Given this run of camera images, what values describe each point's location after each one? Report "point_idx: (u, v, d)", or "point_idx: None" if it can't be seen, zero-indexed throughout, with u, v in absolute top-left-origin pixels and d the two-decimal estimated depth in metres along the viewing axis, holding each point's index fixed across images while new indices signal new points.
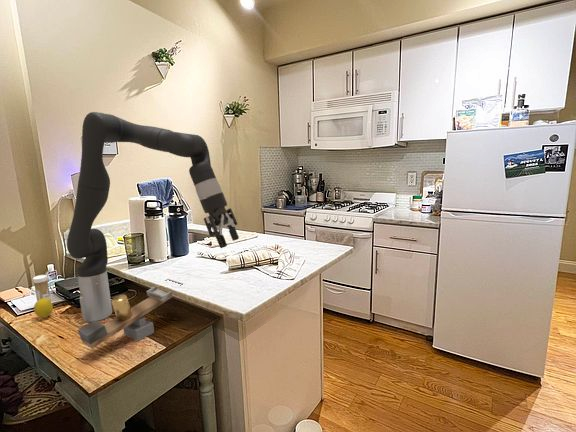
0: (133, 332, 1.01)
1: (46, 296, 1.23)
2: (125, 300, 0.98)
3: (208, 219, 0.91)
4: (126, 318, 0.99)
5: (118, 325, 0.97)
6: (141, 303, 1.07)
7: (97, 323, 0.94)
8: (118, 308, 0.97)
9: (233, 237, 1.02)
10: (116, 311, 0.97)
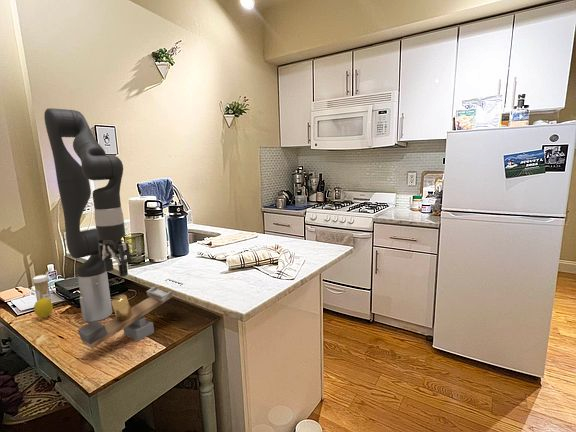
0: (133, 332, 1.01)
1: (46, 296, 1.23)
2: (125, 300, 0.98)
3: None
4: (126, 318, 0.99)
5: (118, 325, 0.97)
6: (141, 303, 1.07)
7: (97, 323, 0.94)
8: (118, 309, 0.97)
9: None
10: (116, 311, 0.97)
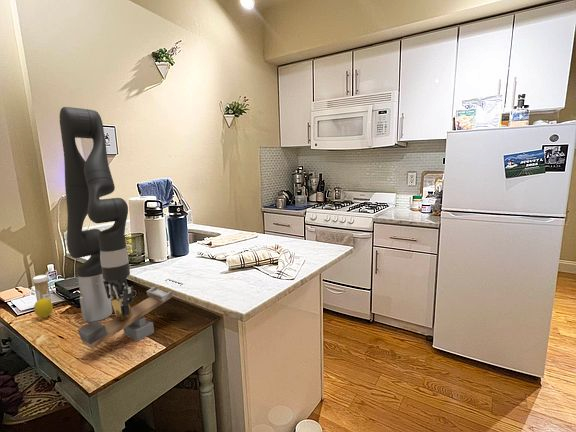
0: (133, 332, 1.01)
1: (46, 296, 1.23)
2: None
3: None
4: (126, 318, 0.99)
5: (118, 325, 0.97)
6: (141, 303, 1.07)
7: (97, 323, 0.94)
8: (118, 309, 0.97)
9: None
10: (116, 311, 0.97)
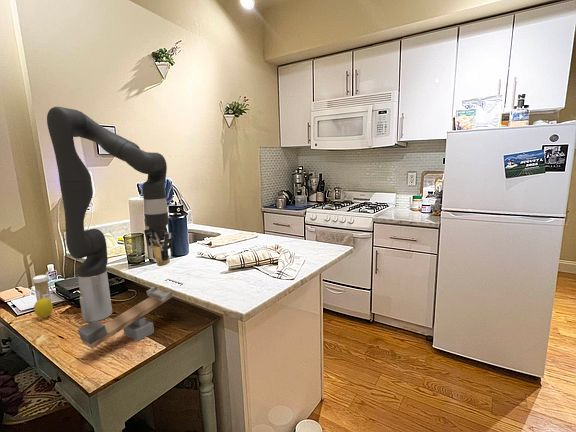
0: (133, 332, 1.01)
1: (46, 296, 1.23)
2: None
3: None
4: (165, 263, 1.09)
5: (118, 325, 0.97)
6: (141, 303, 1.07)
7: (97, 323, 0.94)
8: (159, 254, 1.07)
9: None
10: (156, 256, 1.08)
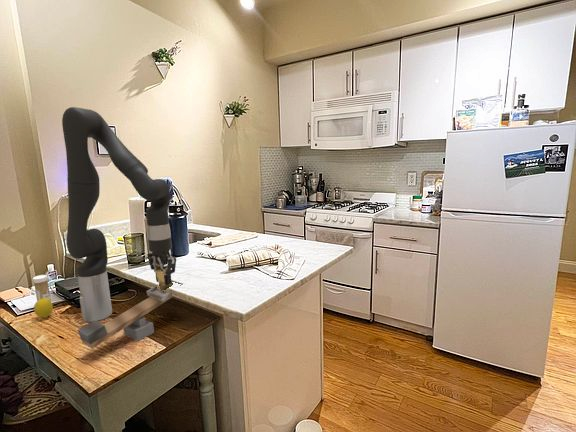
0: (133, 332, 1.01)
1: (46, 296, 1.23)
2: None
3: None
4: (168, 287, 1.11)
5: (118, 325, 0.97)
6: (141, 303, 1.07)
7: (97, 323, 0.94)
8: (162, 278, 1.09)
9: None
10: (160, 280, 1.10)
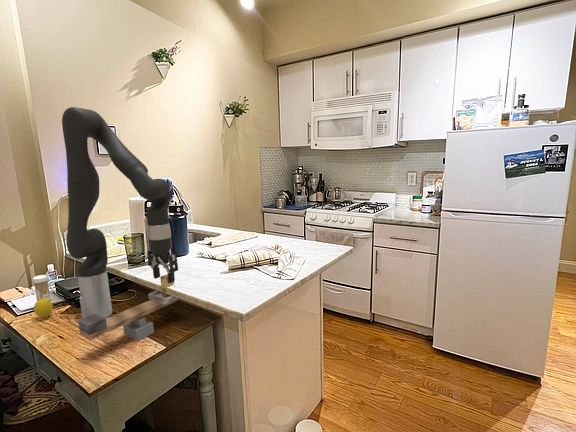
0: (133, 332, 1.01)
1: (46, 296, 1.23)
2: None
3: None
4: None
5: (118, 321, 0.96)
6: (142, 304, 1.08)
7: (98, 316, 0.94)
8: (166, 285, 1.11)
9: None
10: (163, 287, 1.11)
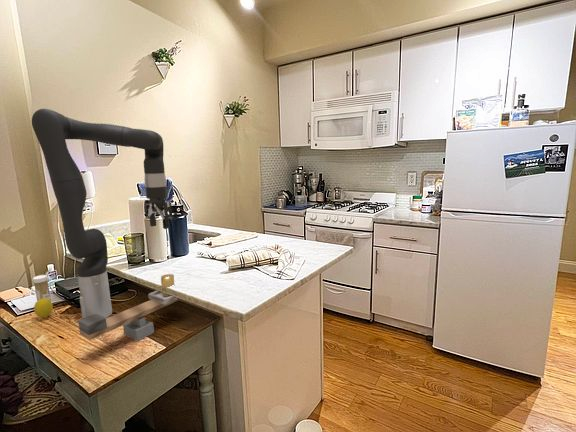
0: (133, 332, 1.01)
1: (46, 296, 1.23)
2: (172, 278, 1.12)
3: None
4: None
5: (118, 321, 0.96)
6: (142, 304, 1.08)
7: (98, 316, 0.94)
8: (166, 284, 1.11)
9: None
10: (163, 286, 1.11)
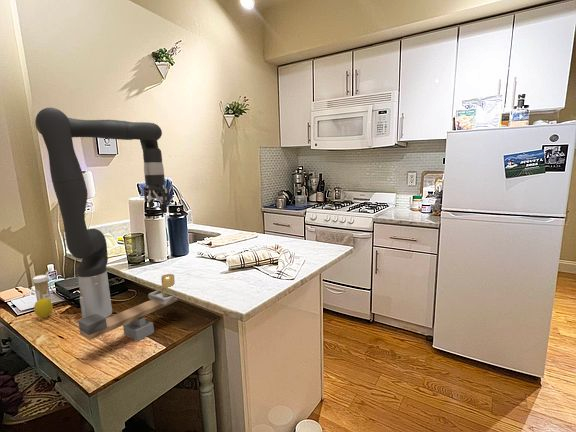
0: (133, 332, 1.01)
1: (46, 296, 1.23)
2: (173, 278, 1.12)
3: None
4: None
5: (118, 321, 0.96)
6: (142, 304, 1.08)
7: (98, 316, 0.94)
8: (166, 284, 1.11)
9: None
10: (163, 286, 1.11)
